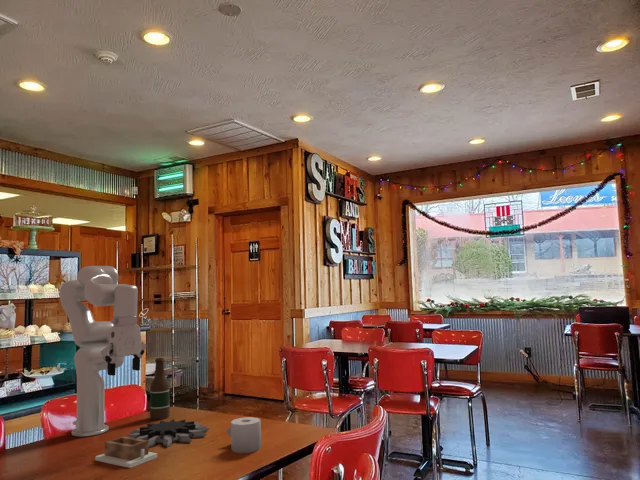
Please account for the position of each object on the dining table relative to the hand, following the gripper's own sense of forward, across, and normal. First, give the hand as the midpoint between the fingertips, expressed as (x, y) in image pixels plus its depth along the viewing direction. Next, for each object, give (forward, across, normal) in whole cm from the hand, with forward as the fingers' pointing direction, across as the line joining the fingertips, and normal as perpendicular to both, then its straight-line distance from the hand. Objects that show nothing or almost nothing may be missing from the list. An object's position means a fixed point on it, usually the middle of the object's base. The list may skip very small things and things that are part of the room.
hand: (124, 372), depth 167 cm
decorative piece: (+25, +15, -5) cm, 30 cm away
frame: (+22, -8, -12) cm, 27 cm away
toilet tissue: (+23, +17, -39) cm, 48 cm away
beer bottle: (+26, +33, +19) cm, 46 cm away
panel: (+24, -8, -12) cm, 28 cm away
